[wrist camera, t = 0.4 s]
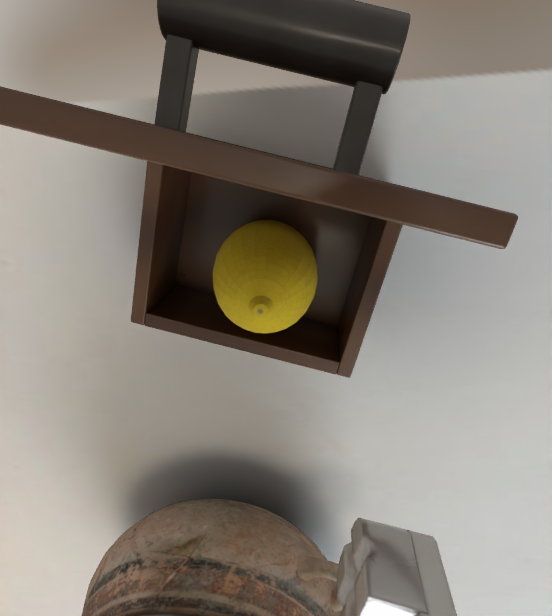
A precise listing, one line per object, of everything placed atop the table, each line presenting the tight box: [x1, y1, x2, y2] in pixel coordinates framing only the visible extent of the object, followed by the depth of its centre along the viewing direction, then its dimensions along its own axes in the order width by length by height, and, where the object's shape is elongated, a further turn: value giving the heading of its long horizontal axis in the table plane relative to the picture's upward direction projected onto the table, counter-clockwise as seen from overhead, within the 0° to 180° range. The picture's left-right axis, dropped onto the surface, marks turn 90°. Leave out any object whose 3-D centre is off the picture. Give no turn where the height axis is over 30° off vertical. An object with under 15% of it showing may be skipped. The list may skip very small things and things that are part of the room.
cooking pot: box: [82, 499, 343, 616], centre depth 31 cm, size 25×19×12 cm
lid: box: [0, 0, 518, 249], centre depth 14 cm, size 10×13×5 cm
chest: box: [131, 161, 403, 377], centre depth 24 cm, size 10×13×6 cm
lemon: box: [213, 220, 318, 333], centre depth 23 cm, size 6×6×8 cm
